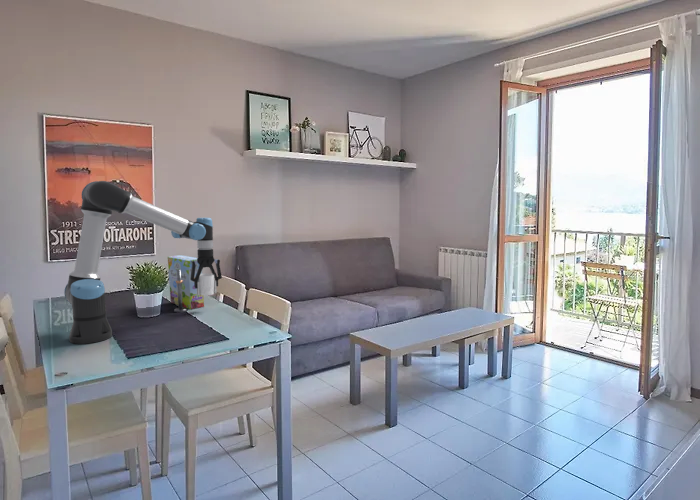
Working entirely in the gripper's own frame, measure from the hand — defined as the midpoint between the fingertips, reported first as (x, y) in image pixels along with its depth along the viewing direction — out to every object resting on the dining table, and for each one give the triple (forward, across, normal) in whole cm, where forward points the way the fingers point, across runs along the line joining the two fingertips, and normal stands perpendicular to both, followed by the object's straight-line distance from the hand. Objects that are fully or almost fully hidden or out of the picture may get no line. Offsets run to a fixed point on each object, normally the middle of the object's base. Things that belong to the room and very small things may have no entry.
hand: (206, 293), depth 227 cm
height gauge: (+9, +12, -6) cm, 16 cm away
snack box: (+9, +6, -18) cm, 21 cm away
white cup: (+1, 0, 0) cm, 1 cm away
